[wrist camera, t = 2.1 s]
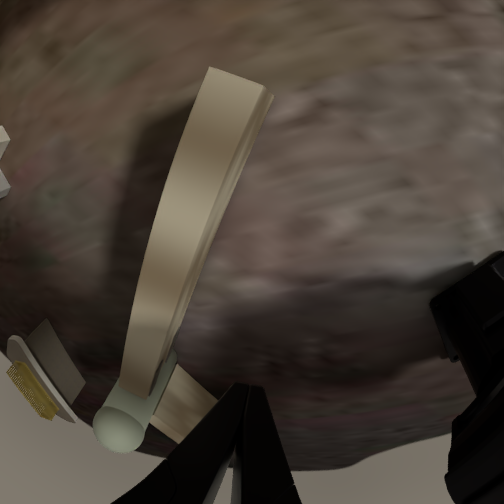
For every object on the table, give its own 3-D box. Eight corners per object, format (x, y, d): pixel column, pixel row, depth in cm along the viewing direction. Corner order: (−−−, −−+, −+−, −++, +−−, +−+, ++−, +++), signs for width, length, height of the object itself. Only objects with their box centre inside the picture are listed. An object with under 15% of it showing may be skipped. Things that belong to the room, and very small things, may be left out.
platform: (69, 402, 29) (44, 440, 23) (-8, 271, 22) (-52, 305, 16) (148, 417, 27) (125, 468, 21) (61, 258, 20) (3, 305, 14)
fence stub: (220, 402, 23) (206, 452, 18) (209, 405, 23) (194, 454, 19) (177, 363, 21) (154, 415, 17) (167, 368, 22) (143, 417, 17)
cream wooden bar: (174, 347, 20) (147, 401, 16) (147, 334, 20) (116, 386, 15) (276, 97, 13) (266, 87, 8) (236, 81, 13) (207, 66, 8)
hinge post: (187, 360, 21) (144, 462, 13) (159, 372, 22) (116, 463, 14) (156, 330, 20) (99, 429, 12) (131, 344, 21) (76, 433, 13)
